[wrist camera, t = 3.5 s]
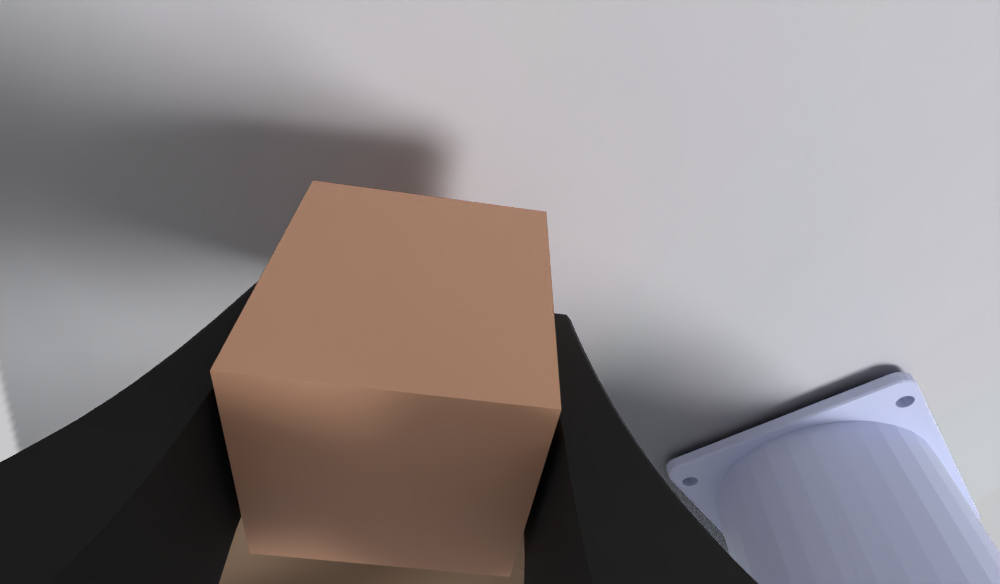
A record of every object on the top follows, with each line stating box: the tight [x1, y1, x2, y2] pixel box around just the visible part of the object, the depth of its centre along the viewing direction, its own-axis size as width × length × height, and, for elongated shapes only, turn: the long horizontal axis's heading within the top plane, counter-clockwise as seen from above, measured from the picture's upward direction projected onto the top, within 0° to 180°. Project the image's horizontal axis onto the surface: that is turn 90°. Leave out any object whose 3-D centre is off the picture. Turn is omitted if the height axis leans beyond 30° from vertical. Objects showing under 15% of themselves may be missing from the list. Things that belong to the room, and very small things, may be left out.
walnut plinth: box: [219, 516, 525, 584], centre depth 22 cm, size 10×10×3 cm
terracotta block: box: [210, 181, 561, 577], centre depth 11 cm, size 4×4×5 cm
